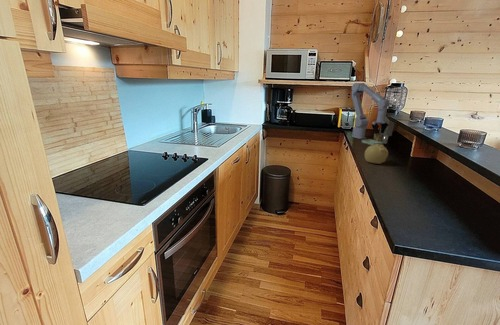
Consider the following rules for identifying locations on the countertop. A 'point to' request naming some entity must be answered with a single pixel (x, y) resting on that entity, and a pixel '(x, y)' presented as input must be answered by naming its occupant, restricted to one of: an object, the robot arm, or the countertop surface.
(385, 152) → the pale yellow round ball
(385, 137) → the metal peg
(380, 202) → the countertop surface
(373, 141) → the parts tray
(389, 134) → the skincare box
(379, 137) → the oak block
